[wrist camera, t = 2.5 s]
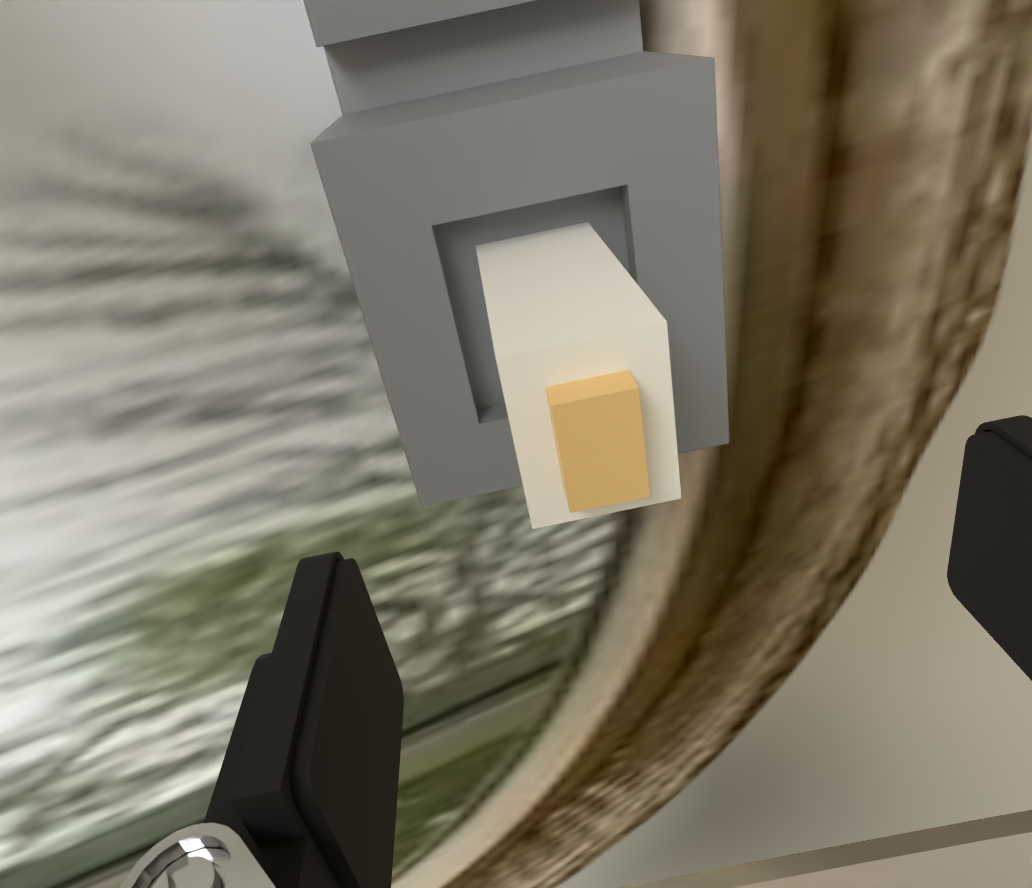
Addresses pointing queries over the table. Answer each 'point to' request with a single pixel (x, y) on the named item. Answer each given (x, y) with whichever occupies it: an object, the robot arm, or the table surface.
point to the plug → (580, 375)
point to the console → (514, 199)
